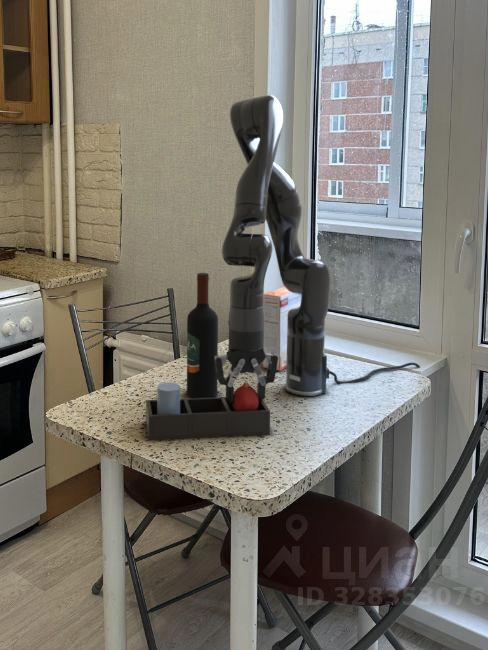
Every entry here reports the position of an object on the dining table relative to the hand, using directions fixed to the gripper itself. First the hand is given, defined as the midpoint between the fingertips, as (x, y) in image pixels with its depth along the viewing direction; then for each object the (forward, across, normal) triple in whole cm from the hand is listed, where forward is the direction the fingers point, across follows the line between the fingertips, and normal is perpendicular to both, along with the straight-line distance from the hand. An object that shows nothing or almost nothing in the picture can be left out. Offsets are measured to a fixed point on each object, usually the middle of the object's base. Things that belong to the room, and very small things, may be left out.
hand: (245, 401), depth 146 cm
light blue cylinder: (+5, -17, 0) cm, 18 cm away
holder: (+6, -8, 0) cm, 10 cm away
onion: (+4, 0, 0) cm, 4 cm away
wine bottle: (+6, -6, +20) cm, 22 cm away
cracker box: (+6, +20, +41) cm, 46 cm away
